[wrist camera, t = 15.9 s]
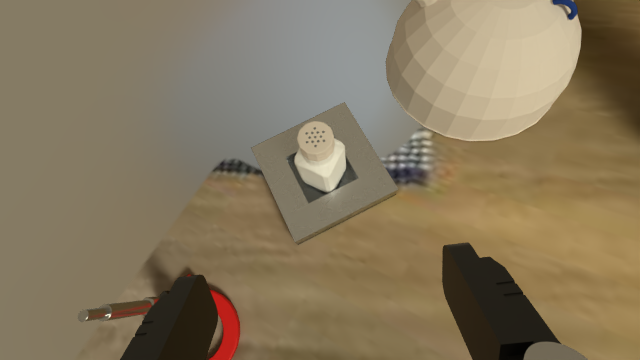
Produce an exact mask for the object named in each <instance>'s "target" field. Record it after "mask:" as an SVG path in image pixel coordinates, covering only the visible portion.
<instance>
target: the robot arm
mask: <svg viewBox="0 0 640 360" xmlns="http://www.w3.org/2000/svg"><path fill="white" fill-rule="evenodd" d="M442 282H443V289H444V294H445V297H446V300H447V303H448V305H449V307H450V309H451V312H452V314H453V316H454V318H455V321H456V323H457V325H458V327H459V330H460V332H461V334H462V337H463V339H464V341H465V343H466V346H467V348H468V350H469V352H470V355H471V357H472V359H473V360H588V359H587V358H585V357H584V356H583V355H582V354H580V353H579V352H577V351H575V350H574V349H572V348H570V347H568V346H565V345H562V344H561V343H560V342H559V341H558V340H557V338H556V337H555V336H554V334H553V333H552V331H551V330H550V329H549V327H548V326H547V325H546V323H545V322H544V320H543V319H542V318H541V316H540V315H539V314H538V312H537V311H536V310H535V308H534V307H533V305H532V304H531V303H530V301H529V300H528V299H527V297H526V296H525V295H523V292H522V290H521V289H520V288H519V286H518V285H517V284H515V281H514V279H513V278H512V277H511V275H510V274H509V273H508V271H507V270H506V268H505V267H503V266H502V265H501V264H499V263H498V262H496V261H495V260H493V259H492V258H491V257H483V258H479V257H478V255H477V254H476V252H475V251H474V249H473V247H472V246H471V245H470V244H469V243H459V244H451V245H444V246H443V267H442ZM217 322H218V310H217V306H216V304H215V301H214V299H213V296H212V294H211V291H210V289H209V287H208V284H207V282H206V279H205V277H204V276H203V275H193V276H185V277H179V278H178V279H177V280H176V281H175V283H174V285H173V286H172V288H171V290H170V292H169V294H167V295H163V296H162V297H161V298H160V299H159V300H158V301H157V302H156V303H155V304H154V305H153V306H152V307H151V308H150V309H149V311H148V313H147V315H146V316H145V318H144V320H143V321H142V325H140V327H139V328H138V330H137V332H136V333H135V337H133V338H132V340H131V342H130V344H129V345H128V347H127V349H126V350H125V352H124V354H123V356H122V357H121V359H120V360H205V359H206V356H207V353H208V350H209V347H210V344H211V341H212V338H213V335H214V332H215V329H216V326H217Z"/></svg>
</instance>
